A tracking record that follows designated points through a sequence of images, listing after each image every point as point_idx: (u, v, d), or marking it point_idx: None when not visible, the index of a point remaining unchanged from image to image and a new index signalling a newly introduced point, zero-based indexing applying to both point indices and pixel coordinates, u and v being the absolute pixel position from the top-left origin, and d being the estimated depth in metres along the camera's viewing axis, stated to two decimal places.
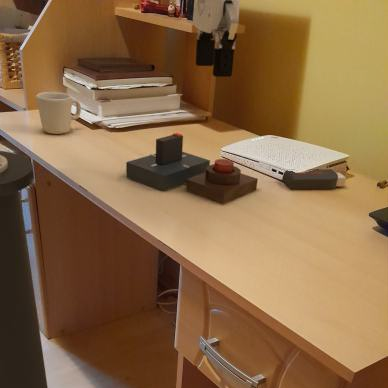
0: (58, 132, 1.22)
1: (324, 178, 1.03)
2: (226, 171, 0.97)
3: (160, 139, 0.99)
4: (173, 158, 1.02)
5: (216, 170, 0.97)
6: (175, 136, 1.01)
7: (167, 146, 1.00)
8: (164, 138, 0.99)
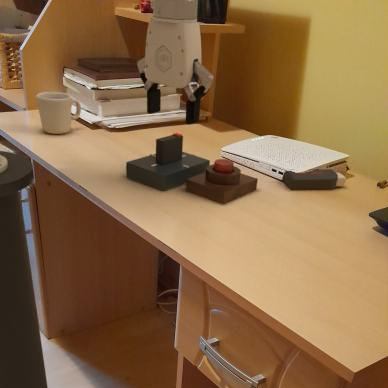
0: (58, 132, 1.22)
1: (324, 178, 1.03)
2: (226, 171, 0.97)
3: (160, 139, 0.99)
4: (173, 158, 1.02)
5: (216, 170, 0.97)
6: (175, 136, 1.01)
7: (167, 146, 1.00)
8: (164, 138, 0.99)
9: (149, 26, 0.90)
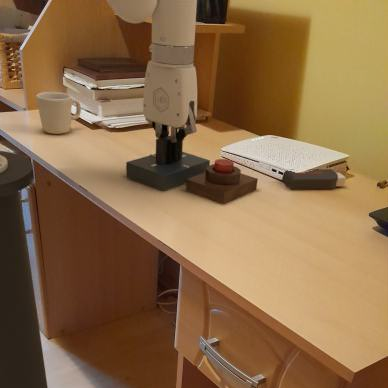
0: (58, 132, 1.22)
1: (324, 178, 1.03)
2: (226, 171, 0.97)
3: (160, 139, 0.99)
4: None
5: (216, 170, 0.97)
6: None
7: (167, 146, 1.00)
8: (164, 138, 0.99)
9: (147, 69, 0.94)
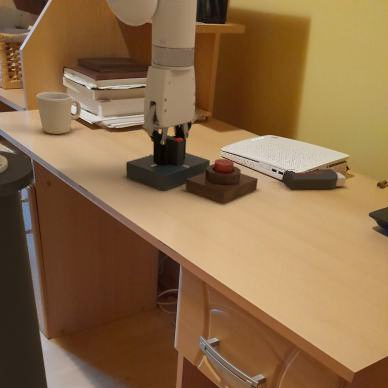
0: (58, 132, 1.22)
1: (324, 178, 1.03)
2: (226, 171, 0.97)
3: (160, 134, 1.02)
4: (167, 158, 1.02)
5: (216, 170, 0.97)
6: (173, 139, 0.99)
7: None
8: None
9: None
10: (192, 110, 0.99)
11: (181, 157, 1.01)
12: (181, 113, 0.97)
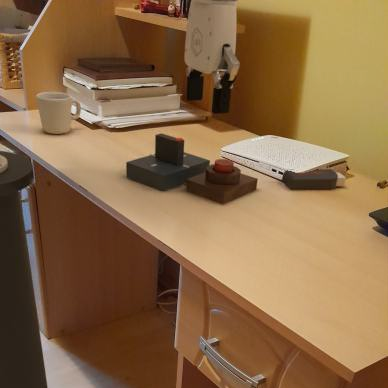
0: (58, 132, 1.22)
1: (324, 178, 1.03)
2: (226, 171, 0.97)
3: (160, 134, 1.02)
4: (167, 158, 1.02)
5: (216, 170, 0.97)
6: (173, 139, 0.99)
7: (160, 142, 1.01)
8: (164, 135, 1.01)
9: (190, 8, 0.86)
10: None
11: (181, 157, 1.01)
12: None
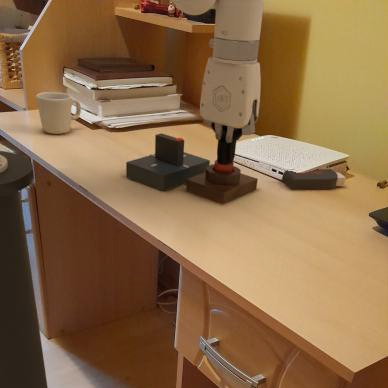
0: (58, 132, 1.22)
1: (324, 178, 1.03)
2: (226, 171, 0.97)
3: (160, 134, 1.02)
4: (167, 158, 1.02)
5: (216, 170, 0.97)
6: (173, 139, 0.99)
7: (160, 142, 1.01)
8: (164, 135, 1.01)
9: (208, 65, 0.88)
10: None
11: (181, 157, 1.01)
12: None
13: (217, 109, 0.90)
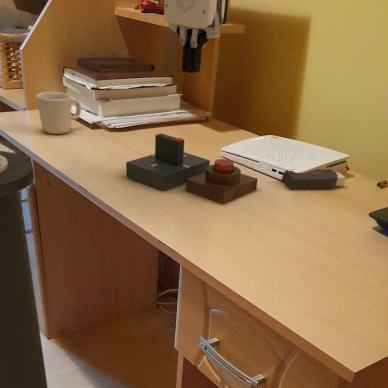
0: (58, 132, 1.22)
1: (324, 178, 1.03)
2: (226, 171, 0.97)
3: (160, 134, 1.02)
4: (167, 158, 1.02)
5: (216, 170, 0.97)
6: (173, 139, 0.99)
7: (160, 142, 1.01)
8: (164, 135, 1.01)
9: None
10: None
11: (181, 157, 1.01)
12: None
13: (181, 9, 0.86)
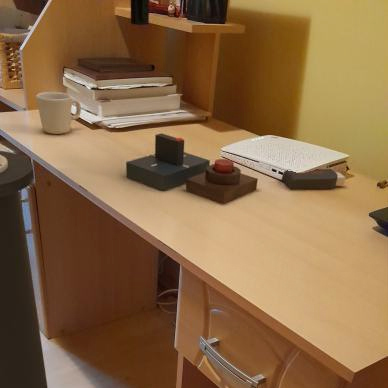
0: (58, 132, 1.22)
1: (324, 178, 1.03)
2: (226, 171, 0.97)
3: (160, 134, 1.02)
4: (167, 158, 1.02)
5: (216, 170, 0.97)
6: (173, 139, 0.99)
7: (160, 142, 1.01)
8: (164, 135, 1.01)
9: None
10: None
11: (181, 157, 1.01)
12: None
13: None
